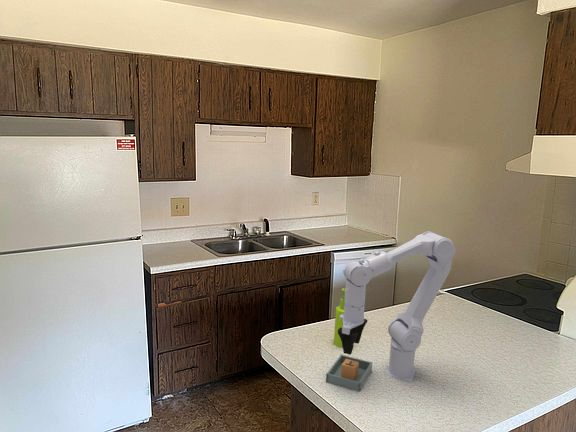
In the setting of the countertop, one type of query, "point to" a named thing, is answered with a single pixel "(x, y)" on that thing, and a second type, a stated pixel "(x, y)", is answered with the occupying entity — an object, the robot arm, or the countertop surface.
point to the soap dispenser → (339, 320)
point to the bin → (357, 384)
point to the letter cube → (349, 369)
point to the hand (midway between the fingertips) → (351, 347)
